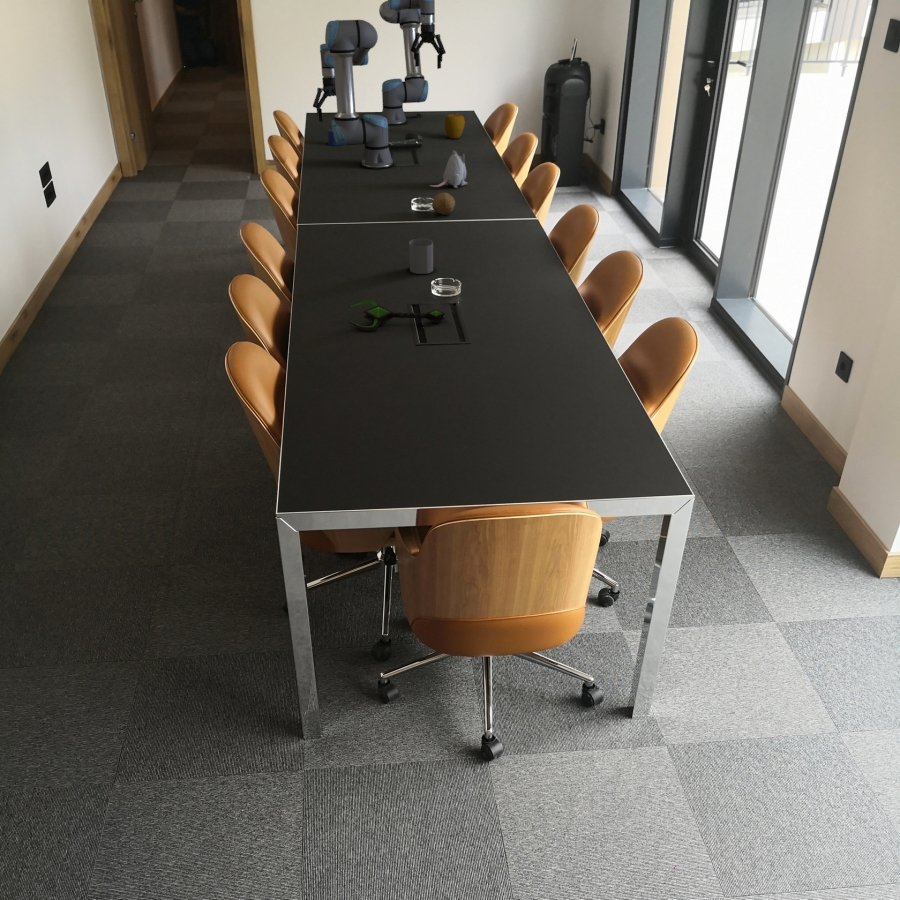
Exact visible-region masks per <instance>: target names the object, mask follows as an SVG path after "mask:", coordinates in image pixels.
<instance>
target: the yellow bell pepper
mask: <svg viewBox="0 0 900 900" xmlns="http://www.w3.org/2000/svg"><path fill="white" fill-rule="evenodd" d="M465 123H466V122H465V117H464V116H463V115H462V114H461V113H449V114H447V115H446V116H445V118H444V129H445V133H446V136H447V137H448V138H449V139H450V140H455V139H458V138H460V137H461V136H462V134H463V132H464V129H465Z"/></svg>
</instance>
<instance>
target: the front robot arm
mask: <svg viewBox="0 0 900 900" xmlns="http://www.w3.org/2000/svg"><path fill="white" fill-rule="evenodd" d="M378 37H379V36H378V31H377V30H376V28H375V27H374V25H373V24H372V23H370V22H368V21H367V20H364V19H337V20H330V21H328V22H327V24H326V27H325V35H324V43H321V44H320V45H319V53H320V64H321V65H320V66H321V77H322V87H317V89H316V95H315V97H314V101H313V104H312V107H313V108H315V109H316V115H317V116H318V122H320V123H323V122H324V121H323V109H322V108H321V107H322V106H323V105H324V102H325V101H326V99H327V98H328V97H336V113H335V114H334V119H333V120H331V129H332V130H333V134H334V138H335V141H336V143H337V144H338V145H337V146H356V145H357V146H358V145H364V151H363V155H362V159H361V166H362V167H363V168H366V169H371V170H381V169H387V168H390V167H392V166H394V161H393V158H392V151H391V150H390V147H389V145H390V144H389V125H388V122H387V119H386V118H385V117H383V116H380V114H374V113H373V114H372V113H368V114H367V113H366V114H364V115H363V116H362V118H360V115H359V113H358V112H357V111H356V99H355V85H354V84H355V83H354V82H355V81H354V68H353V67H355V66H356V67H359V66H360V67H362V66H367V65H368V64H369V59H370V58H369V52H370V50H371V49H373V48H374V47H375V46H376V44H377V43H378V39H379V38H378Z"/></svg>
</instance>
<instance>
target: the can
mask: <svg viewBox="0 0 900 900" xmlns="http://www.w3.org/2000/svg"><path fill="white" fill-rule="evenodd" d="M327 143H328V146H331V147H332V146H333V147H334V146H335V147H336V146H339V145H338V144H337V143H336V141H335V138H334V134H333V130H332V128H330V129H327Z"/></svg>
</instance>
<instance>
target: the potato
mask: <svg viewBox="0 0 900 900" xmlns="http://www.w3.org/2000/svg"><path fill="white" fill-rule="evenodd" d="M455 206H456V200H455V198H454V196H452V195H451V194H449V193H448V192H439V193H437V194H436V195H435V197H434V198H433V200H432V201H431V207H432V209H433V210H434V212H436V213H437V214H439V215H441V216H442V215H449V214H450V213H452V212H453V211H454V209H455Z"/></svg>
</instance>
